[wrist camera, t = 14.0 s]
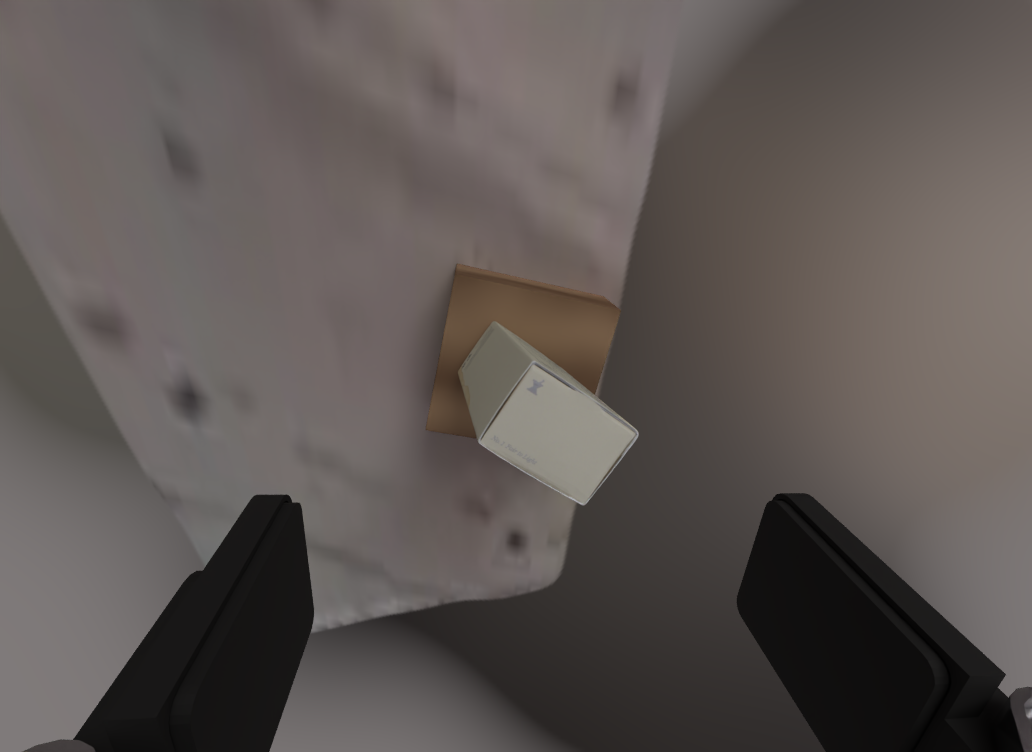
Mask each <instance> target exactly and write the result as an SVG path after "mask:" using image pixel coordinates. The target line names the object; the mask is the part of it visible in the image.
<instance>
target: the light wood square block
mask: <svg viewBox="0 0 1032 752" xmlns="http://www.w3.org/2000/svg"><path fill="white" fill-rule="evenodd" d="M620 312H621V310H620V309H618V308H617V307H616V306H615V305H613V304H612V303H611V302H610V301H608V300H607V299H606V298H605V297H603V296H599V295H595V294H590V293H586V292H581V291H577V290H572V289H568V288H563V287H559V286H555V285H550V284H546V283H541V282H537V281H532V280H528V279H523V278H519V277H514V276H510V275H505V274H501V273H497V272H492V271H488V270H483V269H479V268H474V267H470V266H465V265H461V264H457V267H456V272H455V277H454V282H453V288H452V293H451V298H450V303H449V309H448V314H447V319H446V324H445V330H444V335H443V340H442V346H441V351H440V356H439V361H438V367H437V372H436V377H435V382H434V388H433V393H432V398H431V404H430V409H429V414H428V419H427V425H426V430H429V431H435V432H441V433H447V434H453V435H459V436H465V437H471V438H477V437H476V433H475V430H474V426H473V423H472V419H471V416H470V413H469V409H468V406H467V403H466V399H465V396H464V392H463V389H462V386H461V382H460V379H459V375H458V371H459V369H460V367H461V366H462V364H463V363H464V361H465V360H466V358H467V357H468V355H469V354H470V352H471V351H472V349H473V348H474V347H475V345H476V344H477V342H478V341H479V339H480V338H481V337H482V335H483V334H484V333H485V331H486V330H487V328H488V327H489V326H490V324H491V323H492V322H493V321H495V322H497V323H499V324H500V325H502V326H503V327H505V328H506V329H508V330H509V331H511V332H512V333H514V334H515V335H517V336H518V337H519V338H521V339H522V340H524V341H525V342H527V343H528V344H529V345H531V346H532V347H534V348H535V349H536V350H538V351H539V352H541V353H542V354H543V355H545V356H546V357H547V358H549V359H550V360H551V361H553V362H554V363H555V364H557V365H558V366H560V367H561V368H562V369H564V370H565V371H566V372H567V373H568V374H569V375H571V376H572V377H573V378H574V379H576V380H577V381H578V382H579V383H580V384H582V385H583V386H584V387H585V388H586V389H588V390H589V391H590V392H591V393H593V394H594V395H595V392H596V389H597V386H598V382H599V379H600V376H601V373H602V370H603V366H604V363H605V360H606V357H607V354H608V350H609V347H610V344H611V341H612V338H613V334H614V331H615V328H616V325H617V322H618V319H619V315H620Z"/></svg>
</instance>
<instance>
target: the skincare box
mask: <svg viewBox="0 0 1032 752" xmlns="http://www.w3.org/2000/svg"><path fill="white" fill-rule="evenodd" d="M458 375H459V379H460V382H461V386H462V389H463V392H464V396H465V399H466V403H467V406H468V409H469V413H470V416H471V419H472V423H473V426H474V430H475V433H476V437H477V440H478V443H479V444H480V445H482V446H483V447H485V448H486V449H488V450H489V451H491V452H492V453H494V454H495V455H497V456H498V457H500V458H501V459H503V460H505V461H506V462H508V463H509V464H511V465H513V466H514V467H516V468H518V469H519V470H521V471H523V472H524V473H526V474H528V475H529V476H531V477H533V478H535V479H536V480H538V481H539V482H541V483H543V484H545V485H547V486H548V487H550V488H552V489H553V490H555V491H557V492H559V493H561V494H563V495H564V496H566V497H568V498H569V499H571V500H573V501H575V502H577V503H579V504H581V505H585V504H586V503H587V502H588V501H589V499H590V498H591V497H592V496H593V494H594V493H595V492H596V491H597V489H598V488H599V487H600V486H601V484H602V483H603V482H604V481H605V479H606V478H607V477H608V476H609V474H610V473H611V472H612V470H613V469H614V468H615V467H616V465H617V464H618V463H619V462H620V460H621V459H622V458H623V456H624V455H625V454H626V452H627V451H628V450H629V448H630V447H631V446H632V445H633V443H634V442H635V441H636V439H637V438H638V436H639V434H638V431H637V430H636V429H635V428H634V427H633V426H631V425H630V424H629V423H628V422H627V421H625V420H624V419H623V418H622V417H621V416H619V415H618V414H617V413H616V412H614V411H613V410H612V409H611V408H609V407H608V406H607V405H606V404H605V403H603V402H602V401H601V400H600V399H599V398H597V397H596V396H595V395H594V394H593V393H591V392H590V391H589V390H588V389H586V388H585V387H584V386H583V385H582V384H580V383H579V382H578V381H577V380H576V379H574V378H573V377H572V376H571V375H569V374H568V373H567V372H566V371H565V370H564V369H562V368H561V367H560V366H558V365H557V364H555V363H554V362H553V361H551V360H550V359H549V358H547V357H546V356H545V355H543V354H542V353H541V352H539V351H538V350H536V349H535V348H534V347H532V346H531V345H529V344H528V343H527V342H525V341H524V340H522V339H521V338H519V337H518V336H517V335H515V334H514V333H512V332H511V331H509V330H508V329H506V328H505V327H503V326H502V325H500V324H499V323H497V322H495V321H493V322H492V323H491V324H490V326H489V327H488V328H487V330H486V331H485V333H484V334H483V335H482V337H481V338H480V339H479V341H478V342H477V344H476V345H475V347H474V348H473V349H472V351H471V352H470V354H469V355H468V357H467V358H466V360H465V361H464V363H463V364H462V366H461V367H460V369H459V371H458Z"/></svg>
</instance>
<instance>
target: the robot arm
mask: <svg viewBox="0 0 1032 752" xmlns="http://www.w3.org/2000/svg"><path fill="white" fill-rule="evenodd" d="M737 607H738V610H739V613H740V615H741V617H742V619H743V620H744V622H745V624H746V625H747V627H748V628H749V630H750V632H751V633H752V635H753V636H754V638H755V640H756V641H757V643H758V644H759V646H760V648H761V649H762V651H763V652H764V654H765V655H766V657H767V659H768V660H769V662H770V663H771V665H772V667H773V668H774V670H775V671H776V673H777V675H778V676H779V678H780V679H781V681H782V683H783V684H784V686H785V687H786V689H787V691H788V692H789V694H790V695H791V697H792V699H793V700H794V702H795V703H796V705H797V707H798V708H799V710H800V711H801V713H802V714H803V716H804V717H805V719H806V721H807V722H808V724H809V726H810V727H811V729H812V730H813V732H814V734H815V735H816V737H817V738H818V740H819V742H820V743H821V745H822V746H823V748H824V749H825V751H826V752H1032V687H1023V688H1018V689H1016V690H1015V691H1014V692H1013V693H1012V694H1011V695H1010V696H1009V698H1008V697H1007V696H1006V695H1005V694H1004V693H1003V692H1002V691H1001V690H1000V689H999V688H998V686H999V685H1000V683H1001V681H1002V680H1003V678H1004V677H1005V675H1006V674H1005V673H1004V672H1003V671H1002V670H1001V669H999V668H998V667H997V666H996V665H995V664H994V663H993V662H992V661H991V660H990V659H989V658H987V657H986V656H985V655H984V654H983V653H982V652H981V651H980V650H979V649H978V648H977V647H975V646H974V645H973V644H972V643H971V642H970V641H969V640H968V639H967V638H965V636H964V635H962V634H961V633H960V632H959V631H958V630H957V629H956V628H955V627H954V626H952V625H951V624H950V623H949V622H948V621H947V620H946V619H945V618H944V617H943V616H942V615H940V613H938V612H937V611H936V610H935V609H934V608H933V607H932V606H931V605H930V604H928V603H927V602H926V601H925V600H924V599H923V598H922V597H921V596H920V595H919V594H918V593H917V592H916V591H914V590H913V589H912V588H911V587H910V586H909V585H908V584H907V583H906V582H905V581H904V580H902V579H901V578H900V577H899V576H898V575H897V574H896V573H895V572H894V571H893V570H891V568H889V567H888V566H887V565H886V564H885V563H884V562H883V561H882V560H881V559H880V558H879V557H877V556H876V555H875V554H874V553H873V552H872V551H871V550H870V549H869V548H868V547H867V546H865V545H864V544H863V543H862V542H861V541H860V540H859V539H858V538H857V537H856V536H854V535H853V534H852V533H851V532H850V531H849V530H848V529H847V528H846V527H845V526H844V525H843V524H841V523H840V522H839V521H838V520H837V519H836V518H835V517H834V516H833V515H832V514H831V513H830V512H828V511H827V510H826V509H825V508H824V507H823V506H822V505H821V504H820V503H818V501H816V500H815V499H814V498H813V497H812V496H810V495H808V494H804V493H801V494H800V493H789V494H788V493H784V494H783V493H782V494H777V495H776V496H775V497H774V498H773V500H772V501H769V502H768V503H767V505H766V507H765V510H764V513H763V516H762V519H761V522H760V526H759V529H758V532H757V535H756V538H755V541H754V545H753V548H752V551H751V554H750V557H749V560H748V564H747V567H746V570H745V573H744V576H743V580H742V583H741V586H740V589H739V592H738V596H737ZM313 618H314V605H313V597H312V589H311V581H310V572H309V564H308V556H307V548H306V540H305V532H304V523H303V515H302V508H301V505H300V503H292V500H291V498H290V496H289V495H255V496H254V497H253V498H252V499H251V500H250V502H249V503H248V505H247V506H246V507H245V509H244V510H243V512H242V513H241V515H240V516H239V518H238V519H237V521H236V522H235V524H234V525H233V527H232V528H231V530H230V531H229V533H228V534H227V536H226V537H225V539H224V540H223V542H222V543H221V545H220V546H219V548H218V549H217V551H216V552H215V554H214V555H213V556H212V558H211V559H210V561H209V562H208V564H207V565H206V567H205V568H204V570H203V571H196V572H194V573H193V574H191V575H190V576H189V577H188V578H187V579H186V580H185V581H184V582H183V584H182V585H181V587H180V588H179V590H178V591H177V592H176V594H175V595H174V597H173V598H172V600H171V601H170V602H169V604H168V605H167V607H166V608H165V610H164V611H163V612H162V614H161V615H160V617H159V618H158V620H157V621H156V622H155V624H154V625H153V627H152V628H151V630H150V631H149V632H148V634H147V635H146V637H145V638H144V639H143V641H142V642H141V644H140V645H139V647H138V648H137V649H136V651H135V652H134V654H133V655H132V657H131V658H130V659H129V661H128V662H127V664H126V665H125V667H124V668H123V669H122V671H121V672H120V674H119V675H118V676H117V678H116V679H115V681H114V682H113V684H112V685H111V686H110V688H109V689H108V691H107V692H106V693H105V695H104V696H103V698H102V699H101V701H100V702H99V704H98V705H97V706H96V708H95V709H94V711H93V712H92V713H91V715H90V716H89V718H88V719H87V721H86V722H85V723H84V725H83V726H82V728H81V729H80V731H79V732H78V734H77V735H76V736H75V738H74V739H73V740H56V741H52V742H48V743H44V744H40V745H36V746H34V747H32V748H30V749H27V750H25V751H23V752H269V751H270V748H271V745H272V742H273V739H274V736H275V733H276V730H277V728H278V725H279V722H280V719H281V716H282V713H283V710H284V707H285V704H286V702H287V699H288V695H289V693H290V690H291V687H292V684H293V681H294V678H295V675H296V672H297V670H298V667H299V664H300V660H301V658H302V655H303V652H304V649H305V646H306V644H307V640H308V638H309V635H310V632H311V629H312V624H313Z"/></svg>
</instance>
